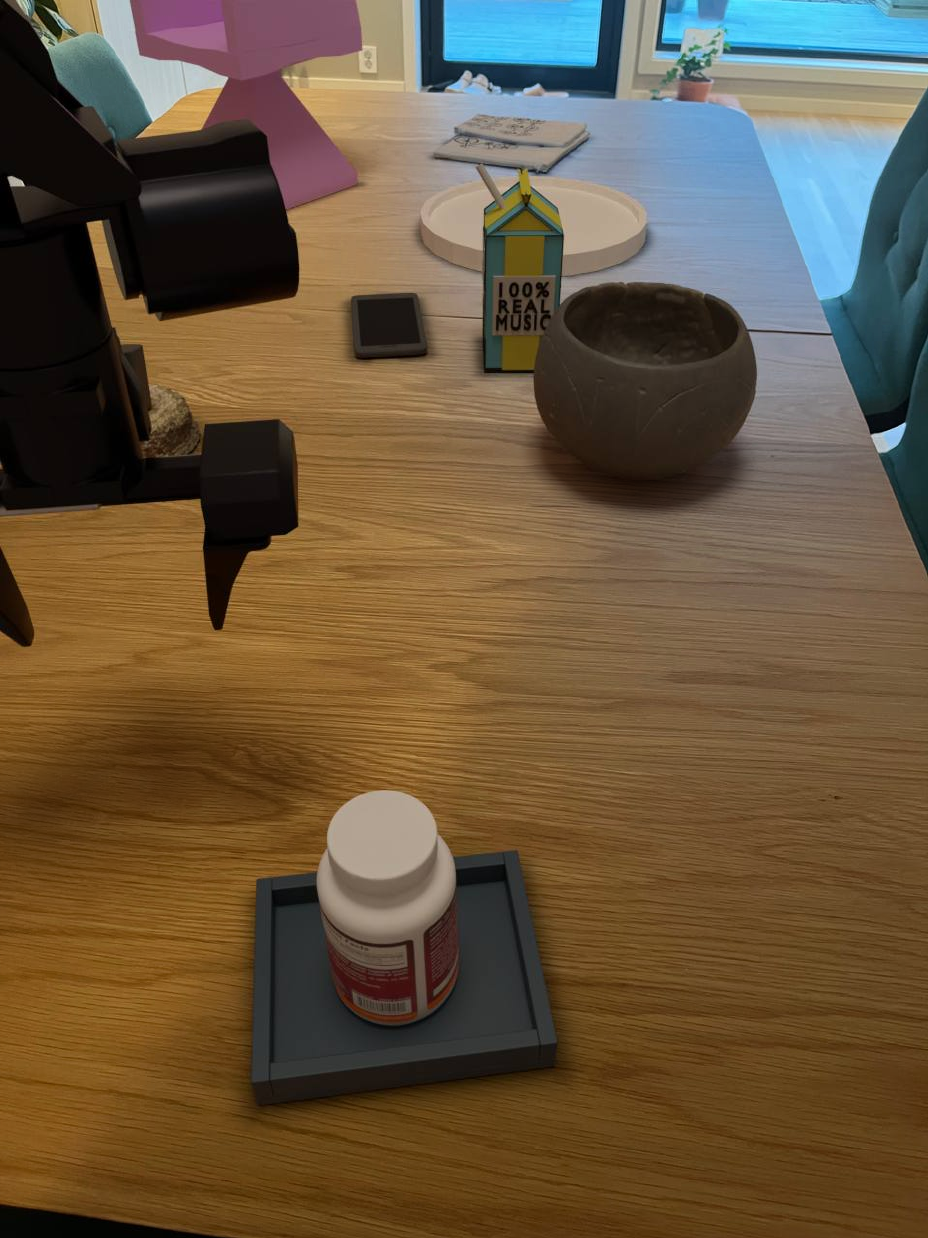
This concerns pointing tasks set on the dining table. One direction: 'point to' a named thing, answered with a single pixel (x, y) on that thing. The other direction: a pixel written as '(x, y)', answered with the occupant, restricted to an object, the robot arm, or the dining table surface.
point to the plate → (589, 213)
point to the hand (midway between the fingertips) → (124, 632)
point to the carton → (518, 274)
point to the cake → (170, 425)
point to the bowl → (644, 378)
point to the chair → (261, 73)
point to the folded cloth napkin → (513, 141)
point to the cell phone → (387, 325)
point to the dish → (412, 1053)
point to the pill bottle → (389, 908)
